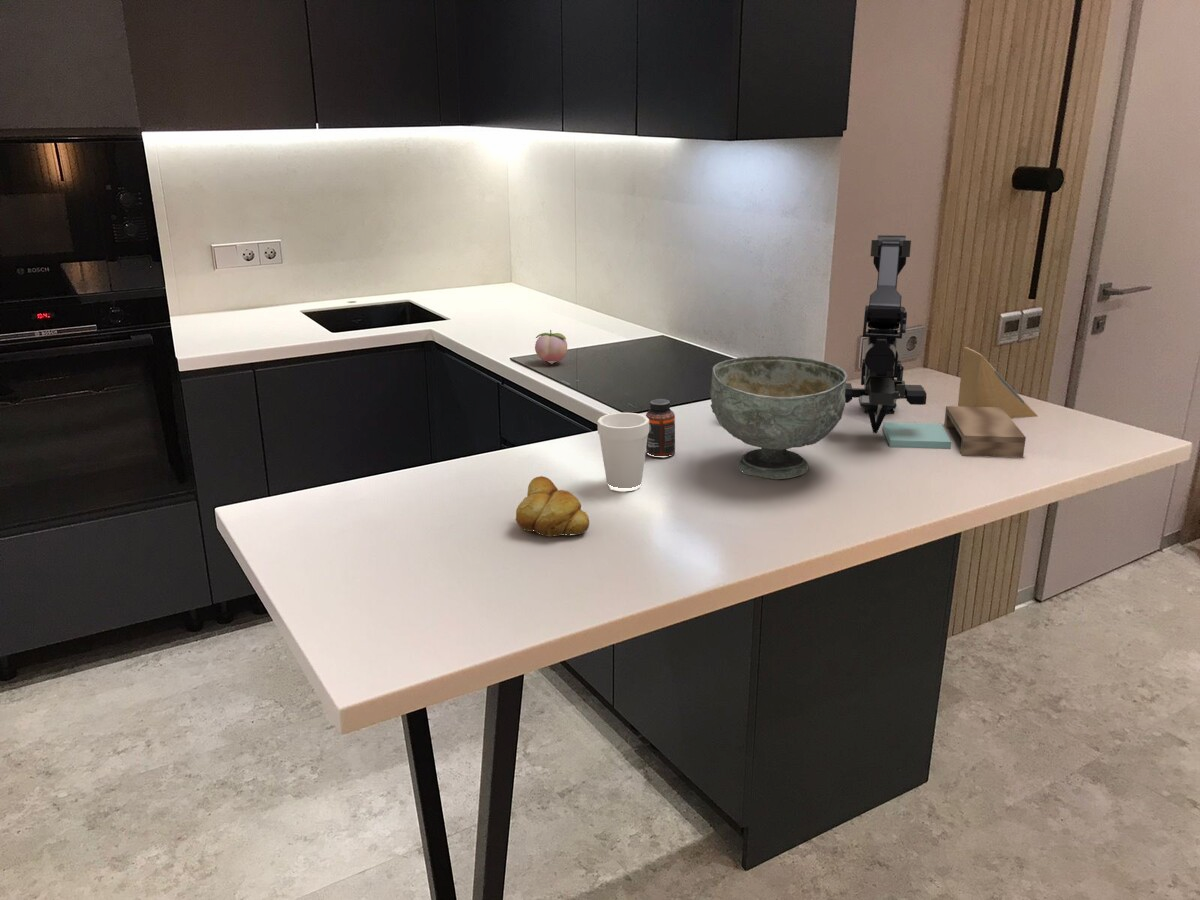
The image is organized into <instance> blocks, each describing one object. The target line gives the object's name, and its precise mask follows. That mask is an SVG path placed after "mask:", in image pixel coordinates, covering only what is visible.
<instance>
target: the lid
mask: <svg viewBox="0 0 1200 900" xmlns="http://www.w3.org/2000/svg"><path fill="white" fill-rule="evenodd" d="M882 431H883V433H884V437H885V438H886V440H887V443H888V446H889V447H890V448H908V449H909V448H911V449H912V448H914V449H915V448H916V449H942V450H943V449H946V450H947V449H949V450H950V449H951V447H952V440H951V438H950V437H949V435H948V434H947V431H946V430H945V429H944V427H943V425H942V424H941V423H936V422H935V423H933V422H932V423H929V422H927V423H926V422H893V421H892V422H887V421H886V422H883V421H882Z"/></svg>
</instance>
